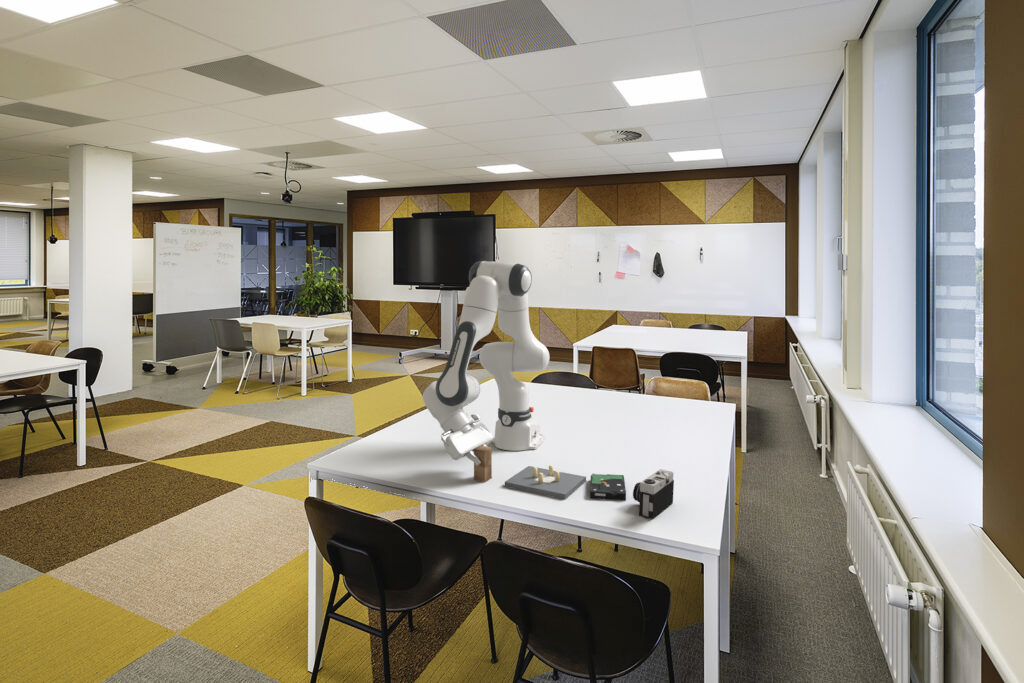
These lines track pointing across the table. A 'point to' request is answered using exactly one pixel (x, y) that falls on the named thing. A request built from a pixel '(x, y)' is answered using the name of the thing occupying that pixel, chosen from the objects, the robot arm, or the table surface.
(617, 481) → the disk drive
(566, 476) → the standoff plate
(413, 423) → the table surface
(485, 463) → the walnut block
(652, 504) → the camera
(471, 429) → the robot arm
